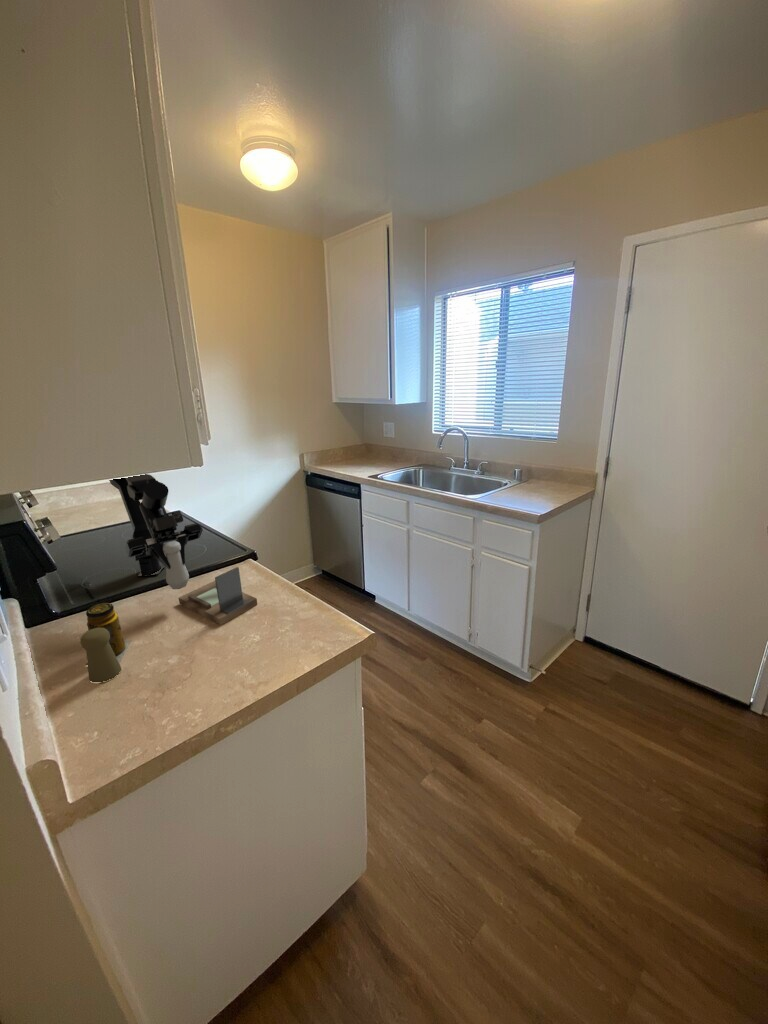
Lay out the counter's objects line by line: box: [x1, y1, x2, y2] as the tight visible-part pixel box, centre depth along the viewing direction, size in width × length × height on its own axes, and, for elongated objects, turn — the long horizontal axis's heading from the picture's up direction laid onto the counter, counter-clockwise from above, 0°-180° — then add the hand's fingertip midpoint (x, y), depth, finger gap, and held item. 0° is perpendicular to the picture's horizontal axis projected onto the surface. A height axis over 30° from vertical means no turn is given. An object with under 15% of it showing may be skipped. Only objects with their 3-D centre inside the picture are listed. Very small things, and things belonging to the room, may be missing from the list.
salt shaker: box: [163, 540, 190, 590], centre depth 112 cm, size 6×6×13 cm
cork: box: [79, 628, 122, 682], centre depth 89 cm, size 6×6×11 cm
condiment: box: [85, 602, 132, 665], centre depth 95 cm, size 7×8×12 cm
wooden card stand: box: [178, 580, 258, 626], centre depth 117 cm, size 19×12×3 cm, turn 56°
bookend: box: [214, 566, 250, 614], centre depth 111 cm, size 3×7×10 cm, turn 146°
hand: (176, 566), depth 111 cm, fingers closed on salt shaker, 3 cm apart
